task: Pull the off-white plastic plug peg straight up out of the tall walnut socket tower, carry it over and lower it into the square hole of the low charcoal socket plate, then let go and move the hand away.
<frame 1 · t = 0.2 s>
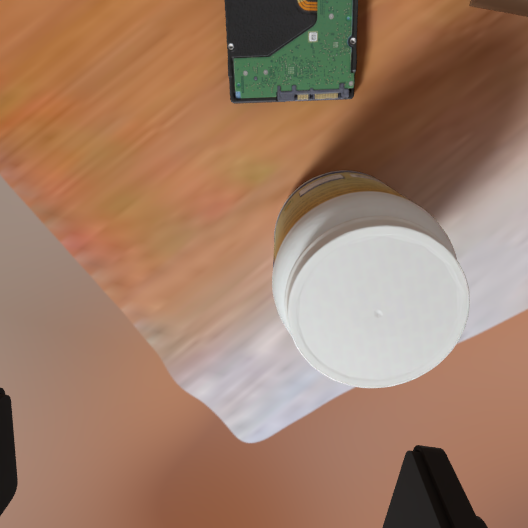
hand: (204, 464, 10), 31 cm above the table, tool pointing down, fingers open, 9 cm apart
supplement tub: (338, 233, 40), on the table
disk drive: (290, 5, 34), on the table
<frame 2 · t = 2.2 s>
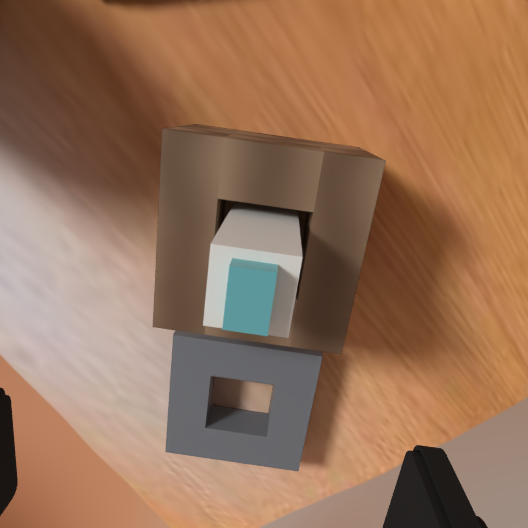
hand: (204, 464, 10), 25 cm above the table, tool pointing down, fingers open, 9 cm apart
plug peg: (263, 232, 28), point 5 cm above the table, touching upper socket tower
lower socket plate: (242, 385, 38), on the table
upper socket tower: (266, 215, 33), on the table
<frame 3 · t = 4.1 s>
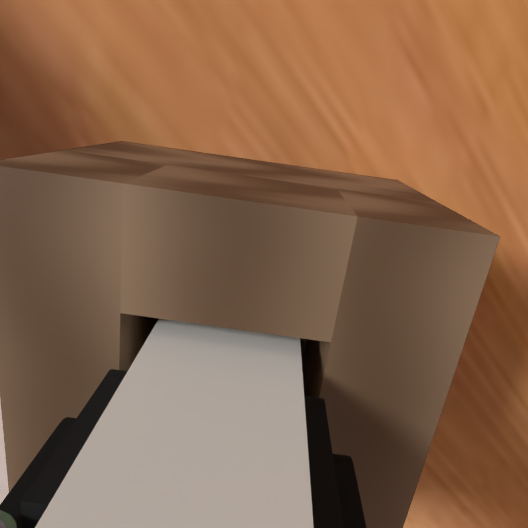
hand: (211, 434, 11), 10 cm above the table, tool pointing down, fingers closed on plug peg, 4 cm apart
plug peg: (233, 337, 15), point 5 cm above the table, touching gripper, upper socket tower
upper socket tower: (243, 288, 20), on the table
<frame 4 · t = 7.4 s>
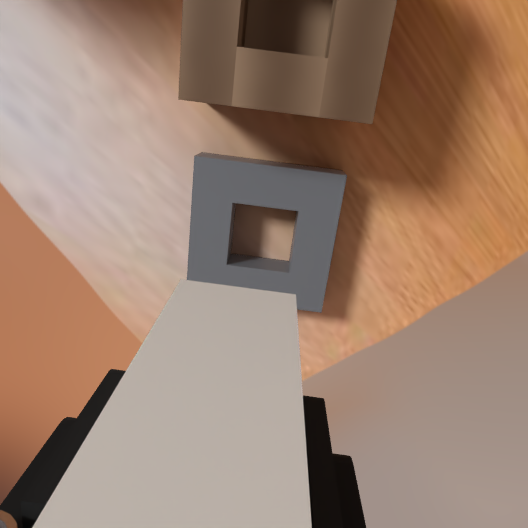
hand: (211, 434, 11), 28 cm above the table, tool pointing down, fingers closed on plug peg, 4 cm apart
plug peg: (232, 337, 15), point 23 cm above the table, touching gripper
lower socket plate: (263, 229, 38), on the table
upper socket tower: (288, 28, 32), on the table
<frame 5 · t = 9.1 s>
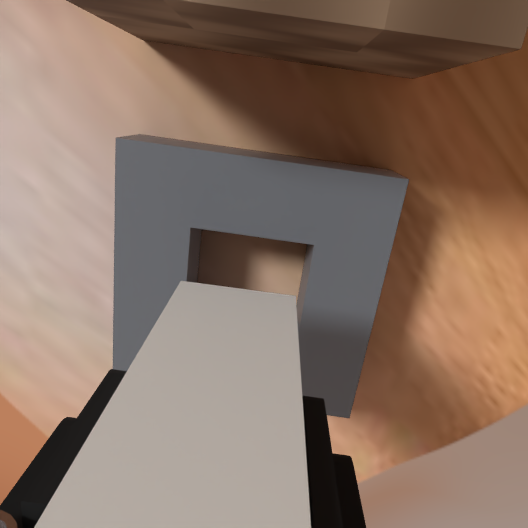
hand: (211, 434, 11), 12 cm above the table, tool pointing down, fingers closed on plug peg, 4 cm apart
plug peg: (232, 338, 15), point 7 cm above the table, touching gripper
lower socket plate: (250, 269, 22), on the table
when the fingers open (6 cm above the table, at t = 10.7 s): plug peg drops 2 cm, resting in lower socket plate.
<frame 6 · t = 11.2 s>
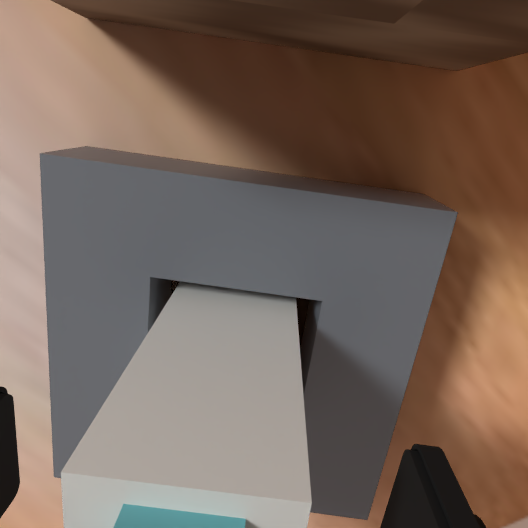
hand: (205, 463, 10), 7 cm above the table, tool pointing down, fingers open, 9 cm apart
plug peg: (237, 317, 17), resting in lower socket plate
lower socket plate: (236, 321, 17), on the table
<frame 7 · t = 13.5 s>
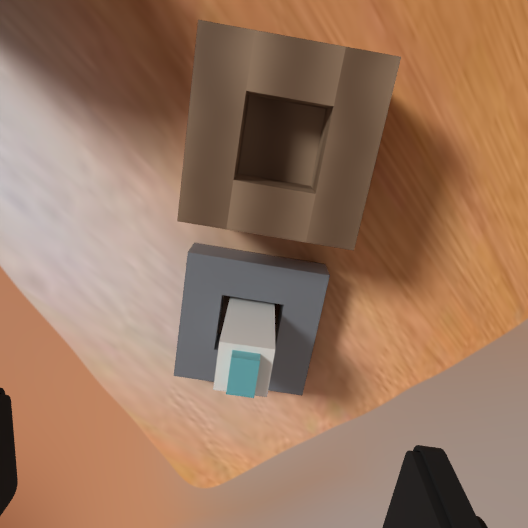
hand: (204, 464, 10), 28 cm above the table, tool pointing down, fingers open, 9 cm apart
plug peg: (250, 311, 40), resting in lower socket plate
lower socket plate: (249, 313, 40), on the table
upper socket tower: (279, 139, 35), on the table
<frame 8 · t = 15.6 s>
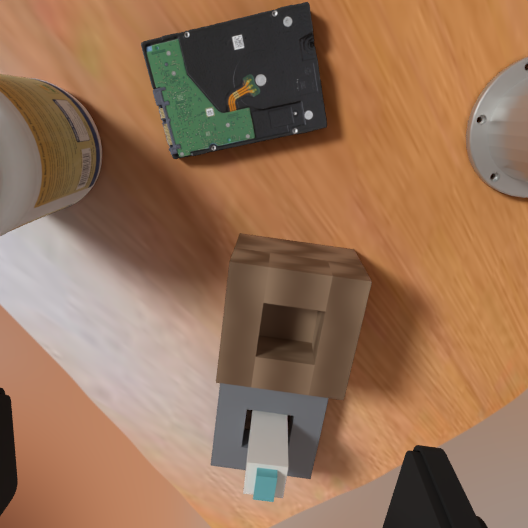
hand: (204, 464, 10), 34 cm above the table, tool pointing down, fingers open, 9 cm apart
plug peg: (268, 413, 51), resting in lower socket plate
supplement tub: (46, 146, 42), on the table
lower socket plate: (268, 414, 51), on the table
upper socket tower: (288, 294, 46), on the table
disk drive: (238, 87, 40), on the table
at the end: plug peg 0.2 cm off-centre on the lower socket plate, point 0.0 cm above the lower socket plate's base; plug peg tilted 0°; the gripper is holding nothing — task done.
